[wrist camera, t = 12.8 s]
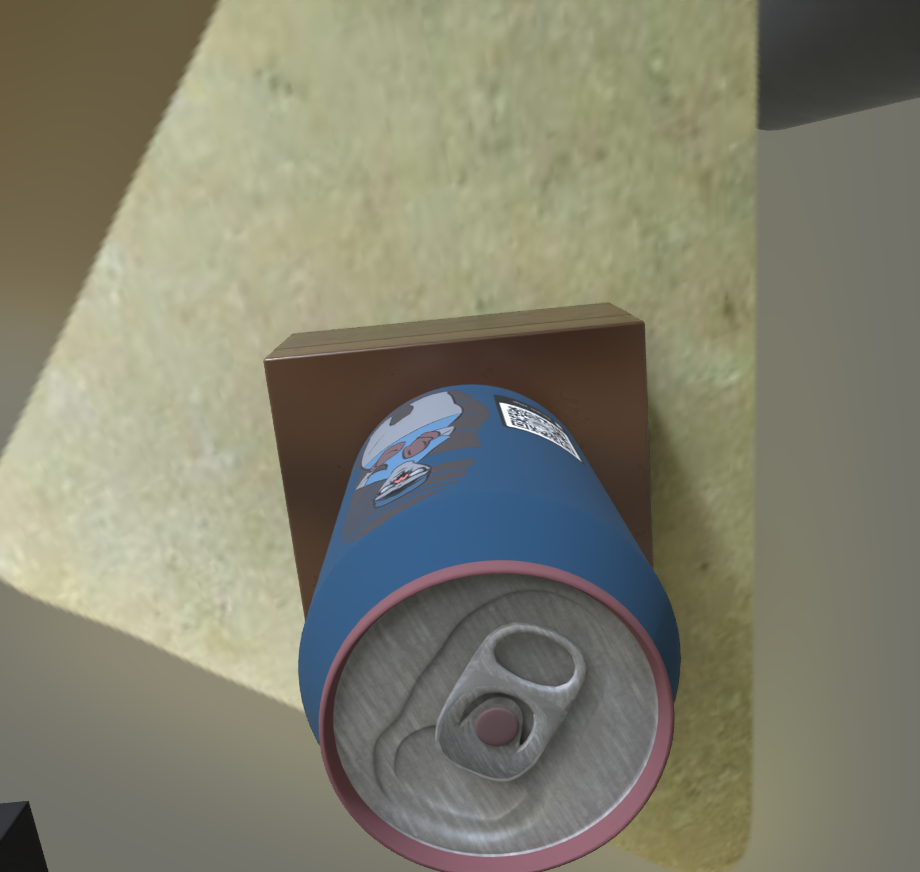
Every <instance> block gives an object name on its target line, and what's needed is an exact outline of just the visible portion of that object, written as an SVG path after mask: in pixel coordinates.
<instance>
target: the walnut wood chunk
mask: <svg viewBox="0 0 920 872" xmlns="http://www.w3.org/2000/svg"><path fill="white" fill-rule="evenodd" d="M264 368H265V374H266V381H267V387H268V393H269V399H270V405H271V412H272V418H273V424H274V430H275V437H276V443H277V449H278V455H279V462H280V468H281V474H282V480H283V486H284V493H285V499H286V505H287V511H288V518H289V524H290V530H291V536H292V542H293V549H294V555H295V561H296V567H297V574H298V580H299V586H300V592H301V598H302V605H303V611H304V617H305V621H306V617H307V614H308V611H309V608H310V604H311V601H312V598H313V595H314V592H315V588H316V585H317V582H318V579H319V575H320V572H321V569H322V566H323V563H324V559H325V556H326V553H327V550H328V546H329V543H330V540H331V537H332V534H333V530H334V527H335V524H336V521H337V517H338V514H339V511H340V508H341V505H342V501H343V498H344V495H345V492H346V488H347V485H348V482H349V479H350V476H351V472H352V469H353V466H354V463H355V461H356V458H357V456H358V454H359V452H360V450H361V448H362V446H363V445H364V443H365V441H366V440H367V438H368V437H369V435H370V434H371V433H372V432H373V430H374V429H375V428H376V427H377V426H378V425H379V424H380V422H381V421H382V420H383V419H385V418H386V417H387V416H388V415H389V414H390V413H391V412H393V411H394V410H395V409H397V408H398V407H400V406H401V405H403V404H404V403H406V402H408V401H409V400H411V399H413V398H415V397H417V396H419V395H422V394H424V393H427V392H430V391H432V390H436V389H440V388H444V387H449V386H456V385H471V384H472V385H487V386H494V387H499V388H503V389H507V390H510V391H513V392H516V393H518V394H521V395H523V396H525V397H527V398H529V399H531V400H533V401H535V402H537V403H538V404H540V405H541V406H543V407H544V408H546V409H547V410H548V411H549V412H551V413H552V414H553V415H554V416H555V417H556V418H557V419H558V420H560V421H561V423H562V424H563V425H564V426H565V427H566V428H567V429H568V431H569V432H570V433H571V435H572V436H573V438H574V439H575V441H576V442H577V444H578V446H579V447H580V449H581V451H582V452H583V454H584V456H585V457H586V459H587V461H588V462H589V464H590V466H591V467H592V469H593V471H594V472H595V474H596V476H597V477H598V479H599V481H600V482H601V484H602V486H603V487H604V489H605V491H606V492H607V494H608V496H609V497H610V499H611V501H612V502H613V504H614V506H615V507H616V509H617V511H618V512H619V514H620V516H621V517H622V519H623V520H624V522H625V524H626V525H627V527H628V529H629V530H630V532H631V534H632V535H633V537H634V539H635V540H636V542H637V544H638V545H639V547H640V549H641V550H642V552H643V554H644V555H645V557H646V559H647V560H648V562H649V564H650V565H651V567H652V569H653V541H652V513H651V485H650V457H649V429H648V401H647V373H646V345H645V323H644V321H642V320H640V319H638V318H636V317H634V316H632V315H631V314H630V313H628V312H626V311H624V310H622V309H620V308H618V307H616V306H614V305H612V304H611V303H599V304H589V305H579V306H568V307H558V308H548V309H538V310H528V311H518V312H508V313H498V314H488V315H478V316H468V317H458V318H448V319H438V320H428V321H417V322H407V323H397V324H387V325H377V326H367V327H357V328H347V329H337V330H327V331H317V332H307V333H297V334H292V335H291V336H290V337H288V338H287V339H286V340H285V341H284V342H283V343H282V344H280V345H279V346H278V347H277V348H276V349H275V350H274V351H273V352H272V353H271V354H270V355H268V356H267V357H266V358H265V359H264ZM653 570H654V569H653Z"/></svg>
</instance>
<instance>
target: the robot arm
mask: <svg viewBox="0 0 920 872" xmlns="http://www.w3.org/2000/svg"><path fill="white" fill-rule="evenodd" d="M0 872H48V868H47V865H46V861H45V858H44V854H43V851H42V847H41V843H40V840H39V836H38V833H37V829H36V826H35V822H34V819H33V815H32V812H31V808H30V805H29V801H23V802H12V803H3V804H0Z"/></svg>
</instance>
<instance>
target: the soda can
mask: <svg viewBox="0 0 920 872" xmlns="http://www.w3.org/2000/svg"><path fill="white" fill-rule="evenodd" d="M680 663H681V655H680V641H679V633H678V628H677V623H676V619H675V616H674V612H673V609H672V606H671V603H670V601H669V599H668V596H667V594H666V592H665V590H664V588H663V586H662V584H661V582H660V580H659V579H658V577H657V575H656V574H655V572H654V570H653V569H652V567H651V565H650V564H649V562H648V560H647V559H646V557H645V555H644V554H643V552H642V550H641V549H640V547H639V545H638V544H637V542H636V540H635V539H634V537H633V535H632V534H631V532H630V530H629V529H628V527H627V525H626V524H625V522H624V520H623V519H622V517H621V516H620V514H619V512H618V511H617V509H616V507H615V506H614V504H613V502H612V501H611V499H610V497H609V496H608V494H607V492H606V491H605V489H604V487H603V486H602V484H601V482H600V481H599V479H598V477H597V476H596V474H595V472H594V471H593V469H592V467H591V466H590V464H589V462H588V461H587V459H586V457H585V456H584V454H583V452H582V451H581V449H580V447H579V446H578V444H577V442H576V441H575V439H574V438H573V436H572V435H571V433H570V432H569V431H568V429H567V428H566V427H565V426H564V425H563V424H562V423H561V421H560V420H558V419H557V418H556V417H555V416H554V415H553V414H552V413H551V412H549V411H548V410H547V409H546V408H544V407H543V406H541V405H540V404H538V403H537V402H535V401H533V400H531V399H529V398H527V397H525V396H523V395H521V394H518V393H516V392H513V391H510V390H507V389H503V388H499V387H494V386H487V385H472V384H471V385H456V386H449V387H444V388H440V389H436V390H432V391H430V392H427V393H424V394H422V395H419V396H417V397H415V398H413V399H411V400H409V401H408V402H406V403H404V404H403V405H401V406H400V407H398V408H397V409H395V410H394V411H393V412H391V413H390V414H389V415H388V416H387V417H386V418H385V419H383V420H382V421H381V422H380V424H379V425H378V426H377V427H376V428H375V429H374V430H373V432H372V433H371V434H370V435H369V437H368V438H367V440H366V441H365V443H364V445H363V446H362V448H361V450H360V452H359V454H358V456H357V458H356V461H355V463H354V466H353V469H352V472H351V476H350V479H349V482H348V485H347V488H346V492H345V495H344V498H343V501H342V505H341V508H340V511H339V514H338V517H337V521H336V524H335V527H334V530H333V534H332V537H331V540H330V543H329V546H328V550H327V553H326V556H325V559H324V563H323V566H322V569H321V572H320V575H319V579H318V582H317V585H316V588H315V592H314V595H313V598H312V601H311V604H310V608H309V611H308V614H307V617H306V621H305V624H304V628H303V632H302V636H301V642H300V648H299V660H298V674H299V685H300V692H301V698H302V703H303V706H304V710H305V713H306V716H307V719H308V721H309V725H310V727H311V729H312V732H313V733H314V736H315V738H316V740H317V742H318V744H319V745H320V748H321V753H322V758H323V762H324V766H325V769H326V771H327V774H328V777H329V780H330V782H331V784H332V786H333V788H334V790H335V792H336V794H337V796H338V797H339V799H340V801H341V802H342V804H343V805H344V806H345V808H346V809H347V811H348V812H349V814H350V815H351V816H352V817H353V818H354V819H355V821H356V822H357V823H358V824H359V825H360V826H361V827H362V828H363V829H364V830H365V831H366V832H367V833H368V834H370V835H371V836H372V837H373V838H374V839H375V840H377V841H378V842H380V843H381V844H382V845H384V846H385V847H386V848H388V849H390V850H391V851H393V852H395V853H396V854H398V855H400V856H402V857H404V858H405V859H408V860H410V861H412V862H414V863H417V864H419V865H422V866H424V867H427V868H430V869H433V870H437V871H441V872H542V871H546V870H550V869H553V868H556V867H559V866H562V865H565V864H567V863H570V862H572V861H575V860H577V859H579V858H581V857H583V856H585V855H587V854H589V853H591V852H593V851H595V850H597V849H598V848H600V847H601V846H603V845H605V844H606V843H607V842H609V841H610V840H612V839H613V838H614V837H616V836H617V835H618V834H619V833H620V832H621V831H622V830H623V829H625V828H626V827H627V826H628V824H629V823H630V822H631V821H632V820H633V819H634V818H635V817H636V816H637V814H638V813H639V812H640V811H641V809H642V808H643V807H644V805H645V804H646V802H647V801H648V800H649V798H650V796H651V795H652V793H653V791H654V790H655V788H656V786H657V784H658V782H659V780H660V778H661V776H662V773H663V771H664V769H665V766H666V763H667V760H668V757H669V754H670V749H671V745H672V740H673V733H674V702H675V699H676V694H677V690H678V684H679V677H680Z"/></svg>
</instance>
